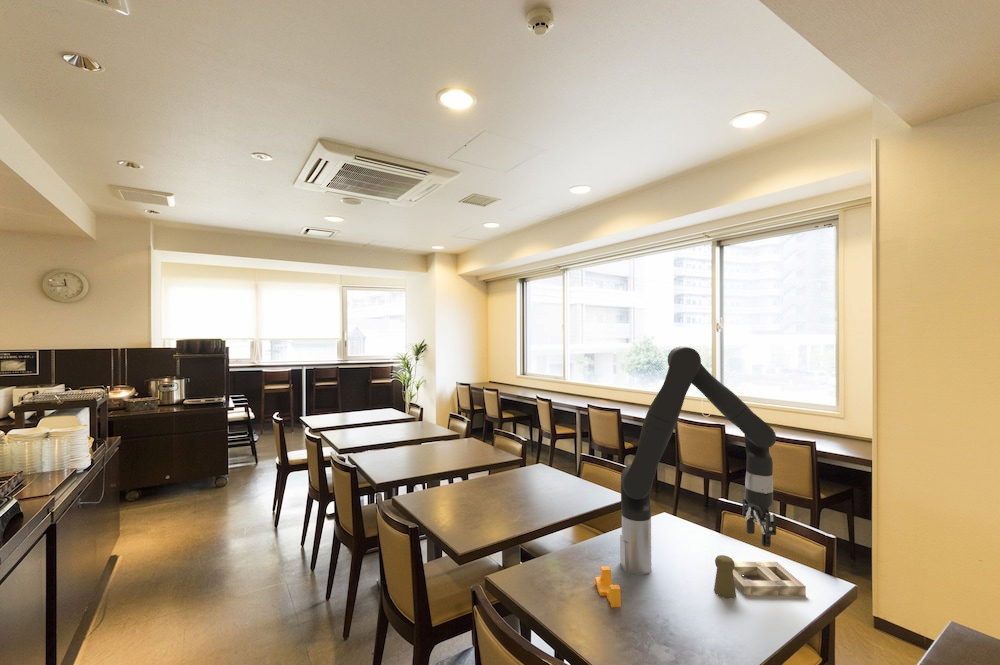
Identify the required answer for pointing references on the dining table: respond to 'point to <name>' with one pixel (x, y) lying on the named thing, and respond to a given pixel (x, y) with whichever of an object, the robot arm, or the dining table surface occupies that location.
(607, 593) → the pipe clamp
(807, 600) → the dining table surface
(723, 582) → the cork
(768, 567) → the socket block
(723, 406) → the robot arm
